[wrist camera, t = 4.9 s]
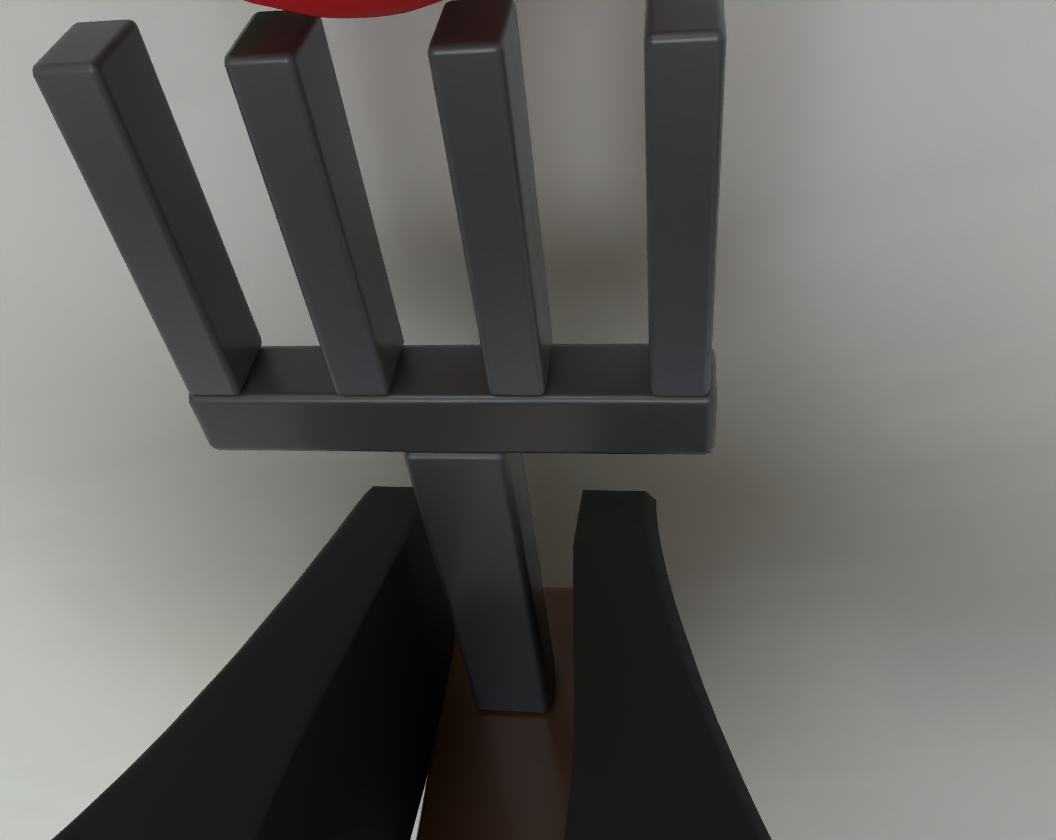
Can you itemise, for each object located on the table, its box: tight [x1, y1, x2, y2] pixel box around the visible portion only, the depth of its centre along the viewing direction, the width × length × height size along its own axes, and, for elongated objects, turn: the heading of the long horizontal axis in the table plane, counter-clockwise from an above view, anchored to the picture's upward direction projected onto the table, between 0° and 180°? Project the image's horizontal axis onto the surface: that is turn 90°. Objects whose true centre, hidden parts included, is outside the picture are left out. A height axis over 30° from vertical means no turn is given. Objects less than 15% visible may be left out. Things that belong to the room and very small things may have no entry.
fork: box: [33, 0, 726, 840], centre depth 10 cm, size 14×4×3 cm, turn 5°
